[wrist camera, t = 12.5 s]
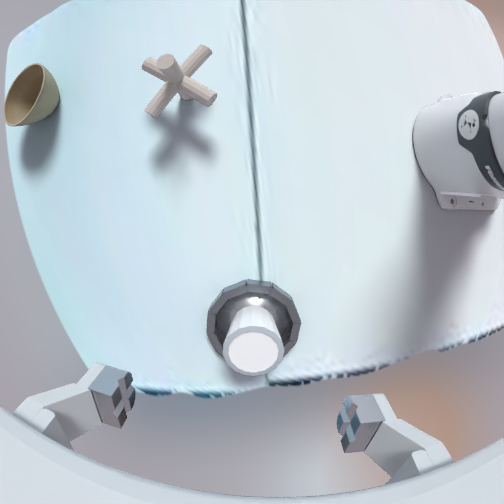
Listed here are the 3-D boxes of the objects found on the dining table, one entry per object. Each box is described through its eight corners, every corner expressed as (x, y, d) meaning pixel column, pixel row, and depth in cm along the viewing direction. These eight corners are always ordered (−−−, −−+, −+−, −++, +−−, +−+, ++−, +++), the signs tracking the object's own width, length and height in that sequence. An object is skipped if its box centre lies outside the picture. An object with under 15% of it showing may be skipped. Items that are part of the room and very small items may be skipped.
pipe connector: (193, 144, 31) (170, 125, 21) (137, 107, 30) (101, 83, 20) (242, 84, 30) (238, 46, 20) (184, 52, 28) (164, 13, 19)
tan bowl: (68, 65, 28) (44, 50, 21) (74, 110, 30) (46, 100, 23) (28, 97, 28) (3, 89, 21) (32, 142, 30) (4, 138, 23)
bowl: (305, 285, 35) (307, 290, 33) (288, 361, 37) (290, 368, 36) (212, 274, 35) (210, 279, 33) (206, 353, 37) (204, 359, 35)
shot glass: (236, 294, 35) (232, 318, 28) (286, 309, 35) (294, 335, 28) (221, 338, 36) (215, 367, 29) (268, 351, 36) (271, 382, 29)
